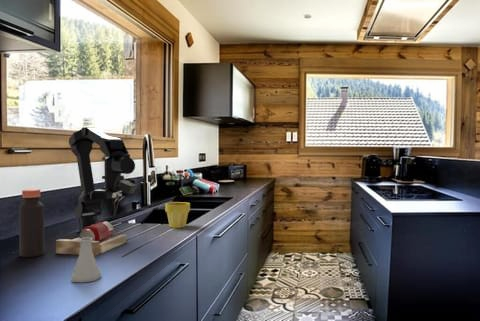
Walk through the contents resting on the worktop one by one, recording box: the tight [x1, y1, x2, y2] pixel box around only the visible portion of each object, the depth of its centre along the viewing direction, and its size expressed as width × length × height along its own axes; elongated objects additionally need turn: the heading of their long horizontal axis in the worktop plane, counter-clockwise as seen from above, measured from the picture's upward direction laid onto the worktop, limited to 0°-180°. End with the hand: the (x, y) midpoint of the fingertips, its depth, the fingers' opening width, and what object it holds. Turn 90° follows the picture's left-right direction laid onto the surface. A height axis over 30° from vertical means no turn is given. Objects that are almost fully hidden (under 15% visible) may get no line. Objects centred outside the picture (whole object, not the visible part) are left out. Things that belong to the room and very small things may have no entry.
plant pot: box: [164, 201, 191, 229], centre depth 160 cm, size 10×10×10 cm
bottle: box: [18, 188, 46, 258], centre depth 117 cm, size 7×7×20 cm
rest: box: [55, 234, 127, 257], centre depth 126 cm, size 14×18×4 cm
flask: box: [70, 237, 102, 283], centre depth 94 cm, size 7×7×10 cm
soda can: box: [79, 220, 115, 243], centre depth 131 cm, size 7×7×12 cm
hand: (113, 215), depth 138 cm, fingers closed
